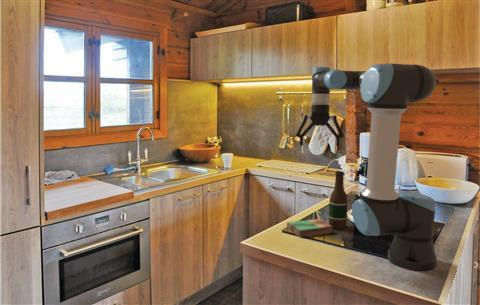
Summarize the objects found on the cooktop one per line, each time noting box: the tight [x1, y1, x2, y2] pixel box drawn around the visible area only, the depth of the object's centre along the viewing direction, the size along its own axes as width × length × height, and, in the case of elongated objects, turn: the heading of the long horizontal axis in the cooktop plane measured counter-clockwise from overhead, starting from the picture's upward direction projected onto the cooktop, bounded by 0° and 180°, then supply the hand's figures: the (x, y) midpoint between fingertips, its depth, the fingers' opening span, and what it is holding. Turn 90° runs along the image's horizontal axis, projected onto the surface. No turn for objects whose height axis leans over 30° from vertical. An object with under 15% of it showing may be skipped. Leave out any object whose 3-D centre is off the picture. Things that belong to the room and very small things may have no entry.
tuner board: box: [286, 218, 333, 238], centre depth 162 cm, size 11×15×3 cm
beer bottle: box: [328, 170, 348, 231], centre depth 165 cm, size 8×8×24 cm
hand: (318, 153), depth 170 cm, fingers open, 13 cm apart
